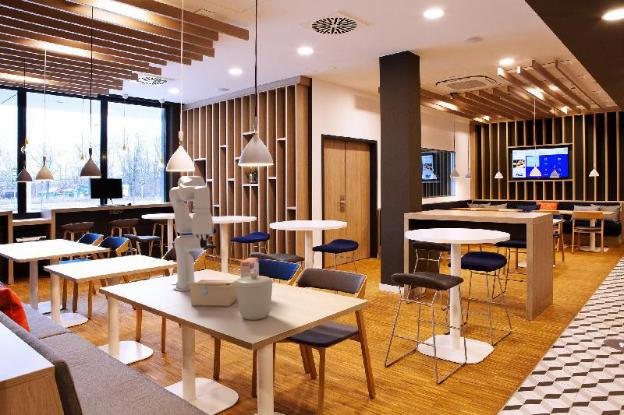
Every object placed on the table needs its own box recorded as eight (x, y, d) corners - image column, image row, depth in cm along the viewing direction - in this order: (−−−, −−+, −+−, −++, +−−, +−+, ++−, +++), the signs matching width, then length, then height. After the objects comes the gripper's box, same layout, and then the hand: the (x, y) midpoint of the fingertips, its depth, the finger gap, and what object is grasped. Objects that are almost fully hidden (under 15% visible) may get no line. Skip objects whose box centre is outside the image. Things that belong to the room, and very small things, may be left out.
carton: (191, 305, 229) (190, 285, 228) (201, 299, 242) (201, 279, 241) (229, 306, 226) (228, 285, 225) (237, 299, 238) (236, 280, 238)
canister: (274, 322, 200) (273, 274, 198) (233, 324, 198) (231, 276, 197) (274, 310, 218) (273, 267, 216) (237, 312, 216) (235, 268, 215)
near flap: (191, 285, 228) (189, 296, 226) (186, 282, 223) (184, 293, 220) (227, 285, 225) (226, 297, 223) (223, 282, 219) (221, 294, 217)
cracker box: (251, 301, 234) (250, 261, 233) (240, 301, 235) (239, 261, 234) (260, 294, 248) (258, 257, 246) (249, 294, 249) (248, 257, 248)
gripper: (185, 212, 224) (186, 248, 226) (213, 212, 222) (214, 249, 223) (191, 210, 232) (192, 245, 233) (219, 210, 229) (220, 246, 231)
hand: (203, 247), depth 228 cm, fingers closed
